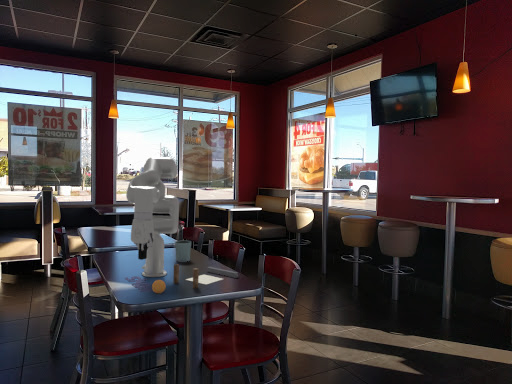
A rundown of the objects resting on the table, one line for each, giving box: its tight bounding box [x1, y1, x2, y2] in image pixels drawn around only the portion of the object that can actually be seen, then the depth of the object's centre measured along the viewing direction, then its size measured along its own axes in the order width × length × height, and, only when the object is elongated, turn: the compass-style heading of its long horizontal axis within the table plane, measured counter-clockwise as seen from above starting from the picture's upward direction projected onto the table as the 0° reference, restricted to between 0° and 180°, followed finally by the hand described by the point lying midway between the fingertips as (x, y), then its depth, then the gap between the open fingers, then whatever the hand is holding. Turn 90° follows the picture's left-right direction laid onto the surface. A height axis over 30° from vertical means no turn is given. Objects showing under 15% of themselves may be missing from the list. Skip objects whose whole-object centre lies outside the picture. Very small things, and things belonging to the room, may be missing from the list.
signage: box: [124, 276, 154, 293], centre depth 189 cm, size 28×1×10 cm
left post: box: [173, 263, 180, 285], centre depth 191 cm, size 3×3×9 cm
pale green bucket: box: [174, 240, 192, 263], centre depth 243 cm, size 10×10×12 cm
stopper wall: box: [206, 266, 239, 279], centre depth 211 cm, size 20×2×2 cm, turn 56°
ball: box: [151, 279, 167, 294], centre depth 174 cm, size 6×6×6 cm
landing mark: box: [185, 274, 224, 285], centre depth 200 cm, size 14×14×1 cm
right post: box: [192, 268, 200, 289], centre depth 184 cm, size 3×3×9 cm
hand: (142, 258), depth 165 cm, fingers closed
